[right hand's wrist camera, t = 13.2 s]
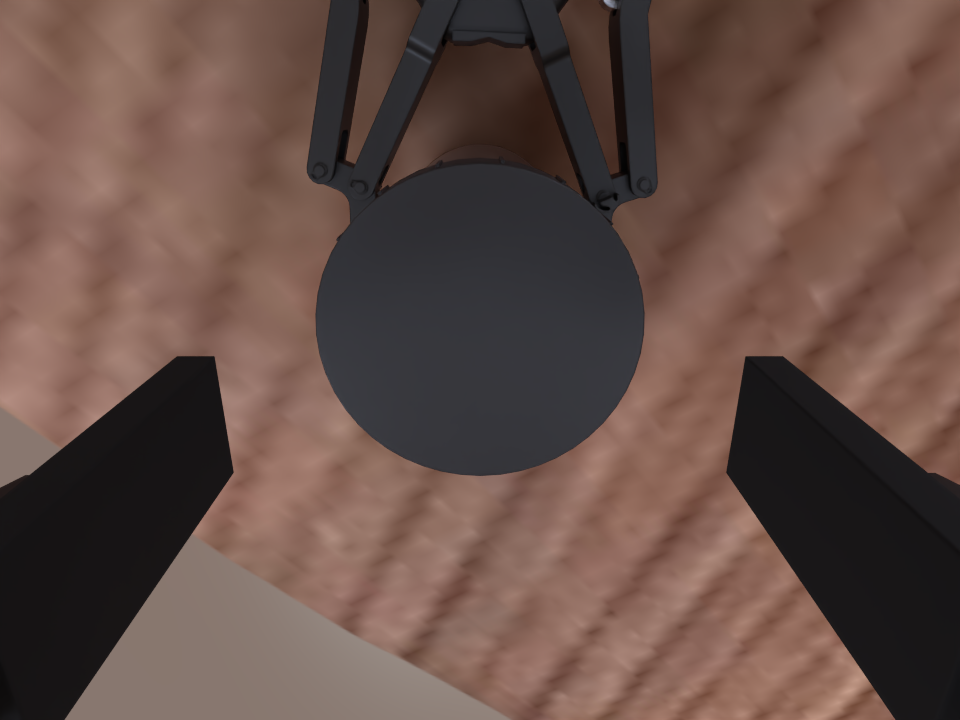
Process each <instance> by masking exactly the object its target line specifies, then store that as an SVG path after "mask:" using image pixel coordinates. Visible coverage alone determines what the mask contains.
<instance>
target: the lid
mask: <svg viewBox="0 0 960 720" xmlns="http://www.w3.org/2000/svg"><path fill="white" fill-rule="evenodd" d="M377 194H378V195H379V196H378V197H377V198H376V199H374V200H373V201H372V202H371V203H370V204H369V205H368V206H367V207H366V208H365V209H363V210H362V211H361V212H360V213H359V214H358V215H357V216H356V217H355V218H354V220H353V221H352V222H351V223H350V225H349V226H348V227H347V229H346V230H345V231H344V232H343V233H342V234H341V235H340V236H339V237H338V238H337V241H338V242H337V244H336V245H335V247H334V249H333V250H332V252H331V254H330V257H329V259H328V262H327V264H326V267H325V269H324V271H323V274H322V278H321V282H320V286H319V290H318V296H317V305H316V336H317V342H318V348H319V353H320V357H321V360H322V363H323V367H324V370H325V373H326V375H327V377H328V380H329V382H330V384H331V386H332V388H333V390H334V392H335V394H336V395H337V397H338V399H339V400H340V402H341V403H342V405H343V406H344V408H345V409H346V411H347V412H348V413H349V414H350V415H351V417H352V418H353V419H354V420H355V421H356V423H357V424H358V425H359V426H360V427H361V428H363V429H364V430H365V431H366V432H367V433H368V434H369V435H370V436H371V437H372V438H374V439H375V440H376V441H378V442H379V443H380V444H382V445H383V446H385V447H386V448H387V449H389V450H391V451H392V452H394V453H396V454H398V455H399V456H401V457H403V458H405V459H407V460H410V461H412V462H414V463H417V464H419V465H422V466H424V467H428V468H431V469H435V470H438V471H442V472H448V473H454V474H460V475H475V476H486V475H501V474H507V473H512V472H518V471H522V470H525V469H529V468H532V467H536V466H539V465H541V464H543V463H546V462H548V461H550V460H553V459H555V458H557V457H559V456H561V455H562V454H564V453H566V452H568V451H569V450H571V449H573V448H574V447H576V446H577V445H578V444H580V443H581V442H582V441H584V440H585V439H586V438H588V437H589V436H590V435H591V434H592V433H593V432H594V431H595V430H596V429H598V428H599V427H600V426H601V425H602V424H603V423H604V421H605V420H606V419H607V418H608V417H609V415H610V414H611V413H612V412H613V411H614V409H615V408H616V407H617V405H618V403H619V402H620V400H621V399H622V397H623V395H624V394H625V392H626V391H627V388H628V386H629V384H630V382H631V380H632V378H633V375H634V373H635V370H636V367H637V364H638V360H639V357H640V354H641V348H642V342H643V336H644V304H643V295H642V290H641V286H640V282H639V276H638V274H637V271H636V269H635V266H634V264H633V261H632V259H631V257H630V254H629V252H628V250H627V249H626V247H625V245H624V243H623V242H622V240H621V238H620V237H619V235H618V233H617V232H616V231H615V230H614V228H613V227H612V225H613V223H612V222H611V221H610V220H609V219H608V218H607V217H605V216H604V215H603V214H602V213H600V212H599V211H598V210H597V209H596V208H595V207H593V206H592V205H591V204H590V203H589V202H588V201H587V200H586V199H585V198H583V197H582V196H581V195H580V194H578V193H577V192H576V191H575V190H573V189H572V188H570V187H569V186H568V185H566V181H564V180H563V179H562V178H561V177H559V176H558V175H556V177H553V176H551V175H549V174H547V173H545V172H543V171H541V170H539V169H536V168H533V167H530V166H528V165H525V164H522V163H517V162H513V161H508V160H504V158H503V157H502V156H499V159H492V158H468V159H457V160H452V161H448V162H443V161H442V160H439V161H438V162H437V163H436V164H435V165H432V166H430V167H427V168H424V169H421V170H419V171H417V172H415V173H413V174H411V175H409V176H407V177H405V178H403V179H401V180H399V181H398V182H397V183H395V184H394V185H393V186H391V187H389V186H388V185H387V186H386V187H384V188H383V189H382V190H381V191H379V192H378V193H377Z"/></svg>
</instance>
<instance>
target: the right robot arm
mask: <svg viewBox="0 0 960 720" xmlns="http://www.w3.org/2000/svg"><path fill="white" fill-rule="evenodd" d="M233 473H234V472H233V466H232V460H231V454H230V447H229V441H228V435H227V429H226V423H225V417H224V411H223V405H222V399H221V393H220V387H219V381H218V375H217V369H216V363H215V357H214V356H177V357H176V358H174V359H173V360H172V361H171V362H170V363H168V364H167V365H166V366H165V367H163V368H162V369H161V370H160V371H158V372H157V373H156V374H155V375H153V376H152V377H151V378H150V379H148V380H147V381H146V382H145V383H143V384H142V385H141V386H140V387H138V388H137V389H136V390H135V391H133V392H132V393H131V394H130V395H128V396H127V397H126V398H125V399H124V400H122V401H121V402H120V403H119V404H117V405H116V406H115V407H114V408H112V409H111V410H110V411H109V412H107V413H106V414H105V415H104V416H102V417H101V418H100V419H99V420H97V421H96V422H95V423H94V424H92V425H91V426H90V427H89V428H87V429H86V430H85V431H84V432H82V433H81V434H80V435H79V436H78V437H76V438H75V439H74V440H73V441H71V442H70V443H69V444H68V445H66V446H65V447H64V448H63V449H61V450H60V451H59V452H58V453H56V454H55V455H54V456H53V457H51V458H50V459H49V460H48V461H46V462H45V463H44V464H43V465H41V466H40V467H39V468H38V469H37V470H35V471H34V472H33V473H32V474H30V475H25V476H23V477H21V478H19V479H17V480H15V481H13V482H11V483H9V484H7V485H5V486H3V487H1V488H0V720H65V718H66V717H67V715H68V714H69V712H70V711H71V709H72V708H73V706H74V705H75V704H76V702H77V701H78V699H79V698H80V696H81V695H82V693H83V692H84V690H85V689H86V687H87V686H88V685H89V683H90V682H91V680H92V679H93V677H94V676H95V674H96V673H97V671H98V670H99V669H100V667H101V666H102V664H103V663H104V661H105V660H106V658H107V657H108V655H109V654H110V652H111V651H112V649H113V648H114V647H115V645H116V644H117V642H118V641H119V639H120V638H121V636H122V635H123V633H124V632H125V630H126V629H127V628H128V626H129V625H130V623H131V622H132V620H133V619H134V617H135V616H136V614H137V613H138V612H139V610H140V609H141V607H142V606H143V604H144V603H145V601H146V600H147V598H148V597H149V595H150V594H151V593H152V591H153V590H154V588H155V587H156V585H157V584H158V582H159V581H160V579H161V578H162V576H163V575H164V574H165V572H166V571H167V569H168V568H169V566H170V565H171V563H172V562H173V560H174V559H175V557H176V556H177V555H178V553H179V552H180V550H181V549H182V547H183V546H184V544H185V543H186V541H187V540H188V539H189V537H190V536H191V534H192V533H193V531H194V530H195V528H196V527H197V525H198V524H199V522H200V521H201V520H202V518H203V517H204V515H205V514H206V512H207V511H208V509H209V508H210V506H211V505H212V503H213V502H214V501H215V499H216V498H217V496H218V495H219V493H220V492H221V490H222V489H223V487H224V486H225V484H226V483H227V482H228V480H229V479H230V477H231V476H232V474H233ZM726 473H727V474H728V476H729V477H730V479H731V480H732V482H733V483H734V484H735V486H736V487H737V489H738V490H739V492H740V493H741V495H742V496H743V498H744V499H745V501H746V502H747V503H748V505H749V506H750V508H751V509H752V511H753V512H754V514H755V515H756V517H757V518H758V520H759V521H760V522H761V524H762V525H763V527H764V528H765V530H766V531H767V533H768V534H769V536H770V537H771V539H772V540H773V541H774V543H775V544H776V546H777V547H778V549H779V550H780V552H781V553H782V555H783V556H784V558H785V559H786V560H787V562H788V563H789V565H790V566H791V568H792V569H793V571H794V572H795V574H796V575H797V576H798V578H799V579H800V581H801V582H802V584H803V585H804V587H805V588H806V590H807V591H808V593H809V594H810V595H811V597H812V598H813V600H814V601H815V603H816V604H817V606H818V607H819V609H820V610H821V612H822V613H823V614H824V616H825V617H826V619H827V620H828V622H829V623H830V625H831V626H832V628H833V629H834V631H835V632H836V633H837V635H838V636H839V638H840V639H841V641H842V642H843V644H844V645H845V647H846V648H847V650H848V651H849V652H850V654H851V655H852V657H853V658H854V660H855V661H856V663H857V664H858V666H859V667H860V669H861V670H862V671H863V673H864V674H865V676H866V677H867V679H868V680H869V682H870V683H871V685H872V686H873V688H874V689H875V690H876V692H877V693H878V695H879V696H880V698H881V699H882V701H883V702H884V704H885V705H886V706H887V708H888V709H889V711H890V712H891V714H892V715H893V717H894V718H895V720H960V485H958V484H956V483H954V482H952V481H950V480H948V479H946V478H944V477H942V476H940V475H938V474H936V473H927V472H926V471H925V470H923V469H922V468H921V467H920V466H919V465H917V464H916V463H915V462H914V461H912V460H911V459H910V458H909V457H907V456H906V455H905V454H904V453H902V452H901V451H900V450H899V449H897V448H896V447H895V446H894V445H892V444H891V443H890V442H889V441H887V440H886V439H885V438H884V437H882V436H881V435H880V434H879V433H878V432H876V431H875V430H874V429H873V428H871V427H870V426H869V425H868V424H866V423H865V422H864V421H863V420H861V419H860V418H859V417H858V416H856V415H855V414H854V413H853V412H851V411H850V410H849V409H848V408H846V407H845V406H844V405H843V404H841V403H840V402H839V401H838V400H836V399H835V398H834V397H833V396H832V395H830V394H829V393H828V392H827V391H825V390H824V389H823V388H822V387H820V386H819V385H818V384H817V383H815V382H814V381H813V380H812V379H810V378H809V377H808V376H807V375H805V374H804V373H803V372H802V371H800V370H799V369H798V368H797V367H795V366H794V365H793V364H792V363H790V362H789V361H788V360H787V359H786V358H784V357H783V356H746V357H745V363H744V369H743V375H742V381H741V387H740V393H739V399H738V405H737V411H736V417H735V423H734V429H733V435H732V441H731V447H730V453H729V460H728V466H727V472H726Z"/></svg>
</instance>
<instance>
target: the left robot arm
mask: <svg viewBox="0 0 960 720" xmlns="http://www.w3.org/2000/svg"><path fill="white" fill-rule="evenodd" d="M417 1H418V3H419V5H420V6H421V8H422V9H421V11H420V13H419V15H418V18H417V20H416V22H415V25H414V27H413V29H412V31H411V34H410V36H409V39H408V43H407V47H406V49H405V52H404V54H403V56H402V59H401V61H400V63H399V66H398V68H397V70H396V72H395V75H394V77H393V79H392V82H391V84H390V86H389V88H388V91H387V93H386V95H385V98H384V100H383V102H382V105H381V107H380V109H379V111H378V114H377V116H376V118H375V121H374V123H373V125H372V127H371V130H370V132H369V134H368V137H367V139H366V141H365V143H364V146H363V148H362V150H361V153H360V155H359V157H358V160H357V162H356V164H354V163H351V162H349V161H346V154H347V148H348V142H349V136H350V130H351V124H352V118H353V112H354V105H355V99H356V93H357V87H358V81H359V75H360V69H361V63H362V57H363V51H364V45H365V39H366V33H367V27H368V18H369V1H368V0H331V3H330V10H329V17H328V24H327V31H326V38H325V45H324V52H323V59H322V66H321V72H320V79H319V86H318V93H317V100H316V107H315V114H314V121H313V128H312V135H311V142H310V149H309V156H308V162H307V173H308V176H309V178H310V179H311V180H312V181H313V182H315V183H317V184H325V185H327V186H330V187H332V188H334V189H337V190H339V191H341V192H342V193H343V194H344V195H345V196H346V197H347V199H348V201H349V205H350V223H351V222H352V221H353V220H354V218H355V217H356V216H357V215H358V214H359V213H360V212H361V211H362V210H363V209H365V208H366V207H367V206H368V205H369V204H370V203H371V202H372V201H373V200H374V199H376V198H377V197H378V196H379V195H378V194H377V193H378V192H379V191H380V189H381V187H382V186H381V185H382V182H383V180H384V178H385V176H386V174H387V172H388V169H389V167H390V165H391V163H392V161H393V158H394V156H395V154H396V152H397V150H398V147H399V145H400V143H401V141H402V139H403V136H404V134H405V132H406V130H407V128H408V125H409V123H410V121H411V119H412V117H413V114H414V112H415V110H416V108H417V106H418V103H419V101H420V99H421V97H422V95H423V93H424V90H425V88H426V86H427V84H428V82H429V79H430V77H431V75H432V73H433V71H434V68H435V66H436V65H437V63H438V61H439V59H440V57H441V55H442V53H443V51H444V49H445V47H446V44H447V42H448V41H449V42H451V43H453V44H454V45H458V46H473V45H477V44H481V43H485V42H491V43H493V44H496V45H499V46H502V47H505V48H523V46H527V45H528V46H529V49H530V51H531V54H532V57H533V60H534V62H535V65H536V67H537V69H538V71H539V73H540V76H541V79H542V82H543V85H544V87H545V90H546V93H547V96H548V99H549V101H550V104H551V107H552V110H553V113H554V115H555V118H556V121H557V124H558V127H559V130H560V132H561V135H562V138H563V141H564V144H565V146H566V149H567V152H568V155H569V158H570V160H571V163H572V166H573V169H574V172H575V175H576V177H577V180H578V183H579V186H580V189H581V191H582V194H583V197H584V198H585V199H586V200H587V201H588V202H589V203H590V204H591V205H592V206H593V207H595V208H596V209H597V210H598V211H599V212H600V213H602V214H603V215H604V216H605V217H607V218H608V219H609V220H610V221H611V222H612V216H613V213H614V211H615V209H616V208H617V207H618V206H619V205H620V204H622V203H625V202H627V201H631V200H634V199H637V198H646V197H649V196H651V195H652V194H653V193H654V192H655V190H656V188H657V183H658V181H657V164H656V147H655V130H654V112H653V95H652V78H651V61H650V43H649V26H648V11H649V7H650V3H651V0H598V1H599V4H600V6H601V7H602V8H603V9H604V10H607V11H610V16H609V46H610V58H611V71H612V84H613V96H614V109H615V122H616V134H617V147H618V160H619V172H618V173H615V174H612V175H610V173H609V170H608V167H607V164H606V161H605V158H604V155H603V152H602V149H601V146H600V143H599V140H598V137H597V134H596V131H595V128H594V125H593V122H592V119H591V116H590V113H589V110H588V107H587V104H586V101H585V98H584V96H583V93H582V90H581V87H580V84H579V81H578V78H577V75H576V72H575V69H574V66H573V63H572V60H571V57H570V52H569V46H568V42H567V39H566V36H565V33H564V30H563V27H562V24H561V21H560V18H559V15H558V14H559V12H560V11H561V9H562V8H563V7H564V5H565V4H566V3H567V1H568V0H417Z"/></svg>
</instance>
